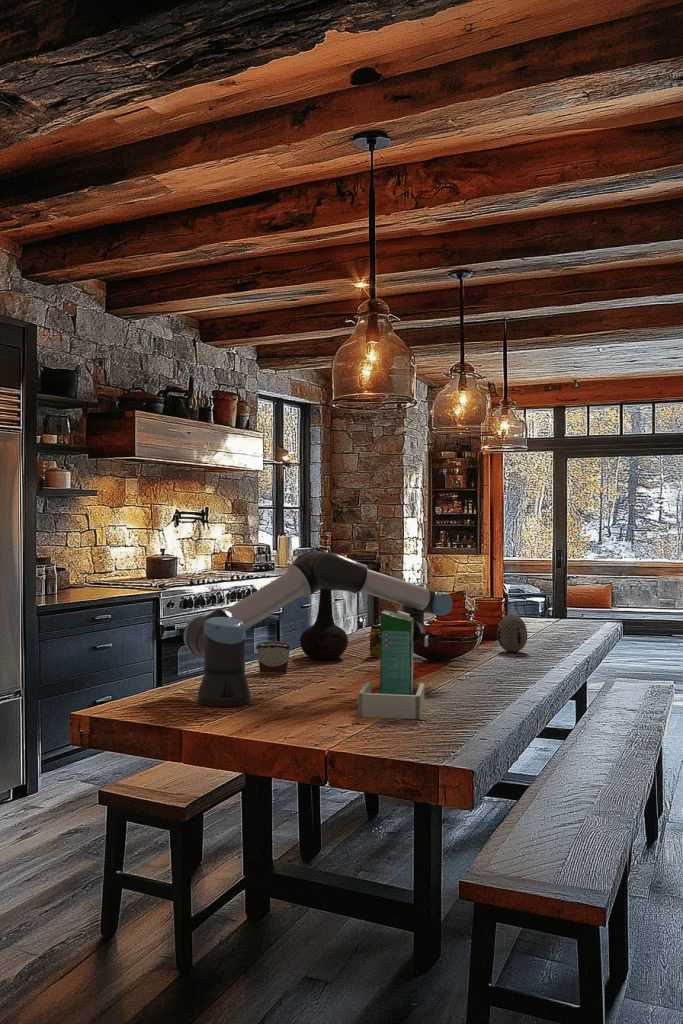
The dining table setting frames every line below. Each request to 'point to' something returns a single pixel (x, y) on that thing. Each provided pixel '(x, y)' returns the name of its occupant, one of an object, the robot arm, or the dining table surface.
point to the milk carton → (396, 653)
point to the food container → (273, 656)
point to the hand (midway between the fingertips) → (403, 641)
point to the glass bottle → (324, 633)
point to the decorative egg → (512, 633)
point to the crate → (390, 704)
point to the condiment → (375, 645)
